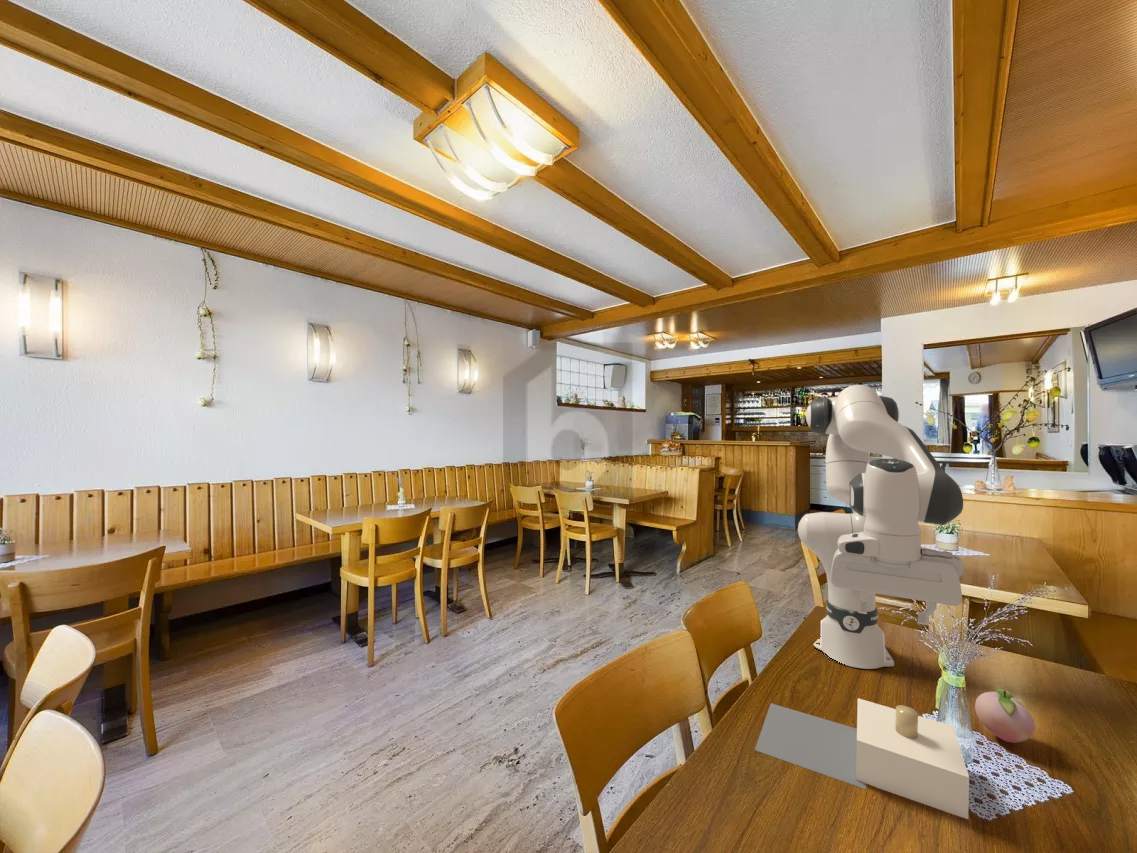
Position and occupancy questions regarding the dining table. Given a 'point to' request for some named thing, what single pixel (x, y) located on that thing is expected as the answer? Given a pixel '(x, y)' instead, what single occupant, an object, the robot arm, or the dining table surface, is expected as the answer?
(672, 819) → the dining table surface
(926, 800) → the cover
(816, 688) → the dining table surface
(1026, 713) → the decorative fruit
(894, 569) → the robot arm
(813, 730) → the mat
